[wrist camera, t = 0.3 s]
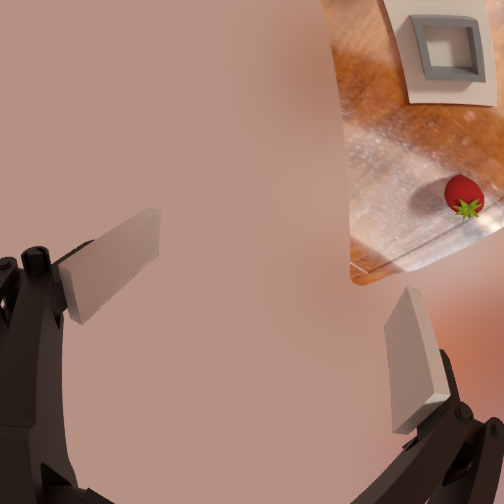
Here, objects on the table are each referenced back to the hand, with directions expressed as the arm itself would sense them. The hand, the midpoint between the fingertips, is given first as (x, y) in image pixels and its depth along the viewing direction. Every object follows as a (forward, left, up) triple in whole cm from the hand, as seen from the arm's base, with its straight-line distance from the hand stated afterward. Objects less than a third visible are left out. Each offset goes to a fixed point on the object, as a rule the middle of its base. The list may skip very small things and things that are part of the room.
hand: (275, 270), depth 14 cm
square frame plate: (-1, +14, -34) cm, 37 cm away
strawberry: (+22, +15, -34) cm, 43 cm away
